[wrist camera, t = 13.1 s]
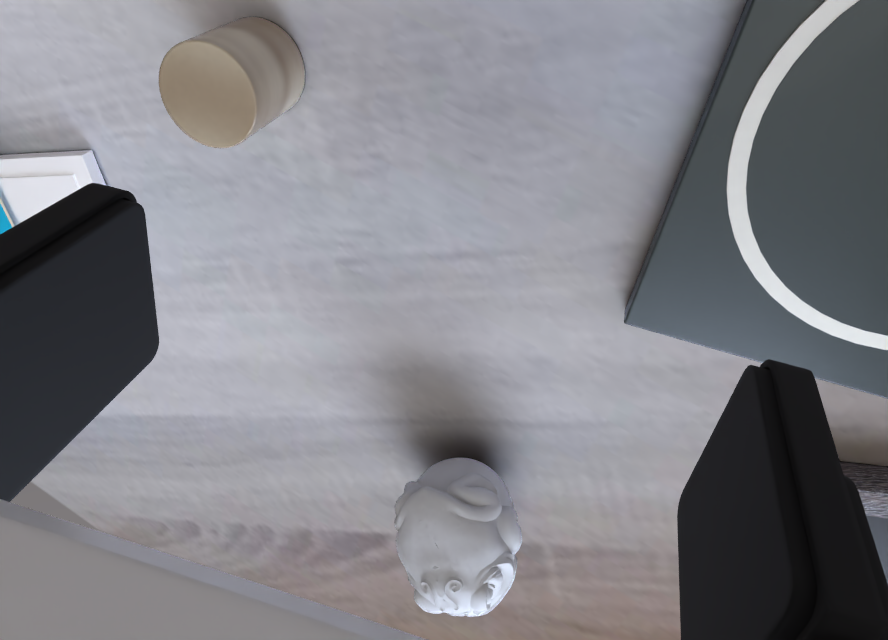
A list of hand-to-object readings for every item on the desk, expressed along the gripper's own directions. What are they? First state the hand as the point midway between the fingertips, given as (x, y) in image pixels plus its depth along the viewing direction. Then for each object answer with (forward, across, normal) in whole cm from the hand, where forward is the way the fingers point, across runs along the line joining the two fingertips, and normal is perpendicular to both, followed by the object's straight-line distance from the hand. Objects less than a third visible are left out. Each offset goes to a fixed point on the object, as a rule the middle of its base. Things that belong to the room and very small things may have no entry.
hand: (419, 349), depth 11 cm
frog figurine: (+17, -1, +20) cm, 26 cm away
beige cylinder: (+17, +11, +2) cm, 20 cm away
